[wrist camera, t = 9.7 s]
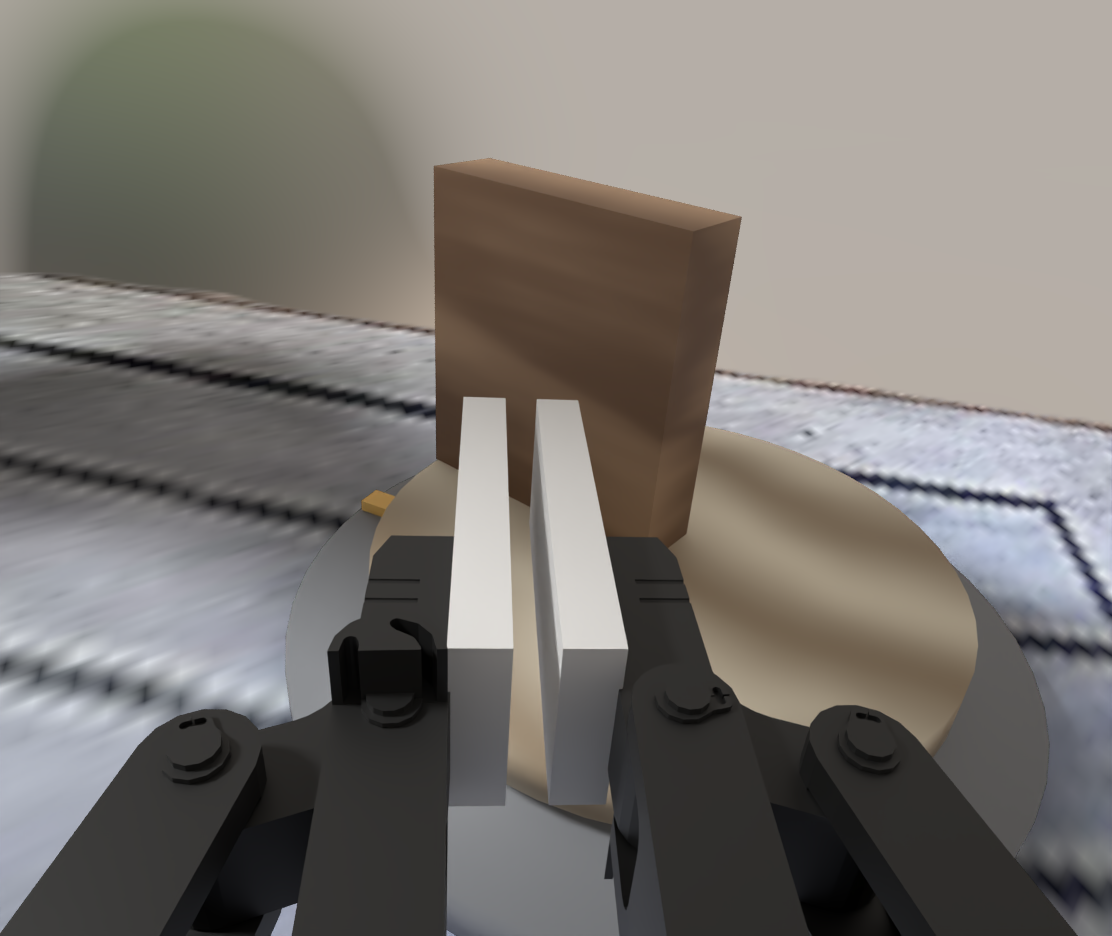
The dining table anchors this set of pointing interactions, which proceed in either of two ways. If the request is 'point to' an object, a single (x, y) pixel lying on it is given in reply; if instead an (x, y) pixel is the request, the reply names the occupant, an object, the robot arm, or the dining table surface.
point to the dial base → (582, 844)
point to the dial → (671, 458)
